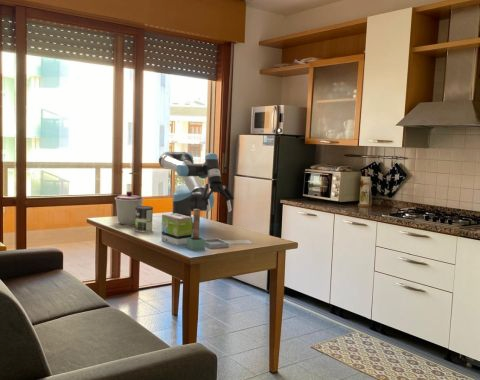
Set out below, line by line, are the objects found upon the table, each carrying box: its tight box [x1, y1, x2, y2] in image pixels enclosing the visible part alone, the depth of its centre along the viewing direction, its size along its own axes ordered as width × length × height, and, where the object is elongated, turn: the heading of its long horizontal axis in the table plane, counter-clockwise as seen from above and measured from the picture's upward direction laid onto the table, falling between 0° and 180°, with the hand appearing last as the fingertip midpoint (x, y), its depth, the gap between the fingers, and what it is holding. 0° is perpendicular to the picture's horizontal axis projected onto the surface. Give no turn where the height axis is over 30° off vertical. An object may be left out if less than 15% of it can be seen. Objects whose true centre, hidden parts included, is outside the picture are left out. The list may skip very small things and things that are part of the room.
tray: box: [204, 237, 230, 249], centre depth 248 cm, size 12×11×3 cm
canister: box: [114, 190, 145, 226], centre depth 301 cm, size 18×18×21 cm
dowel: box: [192, 209, 201, 240], centre depth 238 cm, size 3×3×20 cm
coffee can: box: [134, 205, 154, 233], centre depth 281 cm, size 10×10×14 cm
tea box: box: [161, 213, 193, 246], centre depth 252 cm, size 15×10×15 cm, turn 45°
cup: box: [185, 236, 206, 251], centre depth 239 cm, size 7×7×6 cm
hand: (219, 210), depth 274 cm, fingers open, 13 cm apart
